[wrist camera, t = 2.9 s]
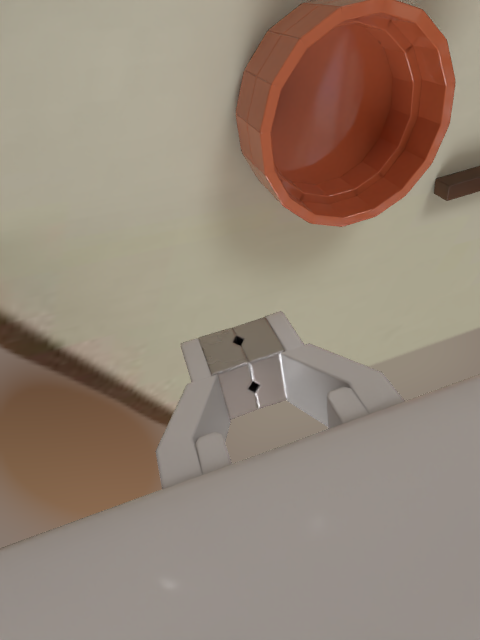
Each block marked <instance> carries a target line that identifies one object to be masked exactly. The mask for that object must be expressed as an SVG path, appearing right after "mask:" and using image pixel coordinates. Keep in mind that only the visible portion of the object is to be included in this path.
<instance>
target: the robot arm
mask: <svg viewBox="0 0 480 640" xmlns="http://www.w3.org/2000/svg"><path fill="white" fill-rule="evenodd" d="M181 349H182V352H183V355H184V359H185V362H186V365H187V369H188V372H189V375H190V379H191V382H192V383H189V384H187V385H186V387H185V389H184V391H183V394H182V396H181V398H180V400H179V402H178V404H177V406H176V409H175V411H174V413H173V415H172V417H171V419H170V421H169V424H168V426H167V428H166V430H165V433H164V434H163V436H162V439H161V441H160V443H159V445H158V447H157V449H156V456H157V462H158V467H159V473H160V478H161V484H162V490H159V491H156V492H154V493H151V494H148V495H145V496H143V497H140V498H137V499H134V500H132V501H129V502H126V503H124V504H121V505H118V506H115V507H112V508H110V509H107V510H104V511H101V512H99V513H96V514H93V515H90V516H88V517H85V518H82V519H79V520H77V521H74V522H71V523H68V524H66V525H63V526H60V527H57V528H55V529H52V530H49V531H46V532H44V533H41V534H38V535H36V536H33V537H30V538H27V539H24V540H22V541H19V542H16V543H13V544H11V545H8V546H5V547H2V548H0V640H480V374H478V375H475V376H473V377H470V378H467V379H464V380H462V381H459V382H456V383H453V384H451V385H448V386H445V387H443V388H440V389H437V390H434V391H431V392H429V393H426V394H423V395H420V396H418V397H415V398H412V399H409V400H407V401H405V400H404V399H403V398H402V396H401V395H400V394H399V393H398V391H397V390H396V389H395V388H394V387H393V385H392V384H391V383H390V381H389V380H388V379H387V378H386V377H385V375H384V374H383V373H382V372H380V371H378V370H375V369H373V368H370V367H368V366H365V365H363V364H360V363H358V362H355V361H353V360H350V359H348V358H345V357H343V356H340V355H338V354H335V353H332V352H330V351H327V350H325V349H322V348H320V347H317V346H315V345H312V344H310V343H309V344H306V345H304V343H303V342H302V340H301V339H300V337H299V336H298V334H297V333H296V331H295V330H294V328H293V327H292V325H291V323H290V322H289V320H288V319H287V317H286V316H285V314H284V313H283V312H282V311H279V312H276V313H273V314H270V315H267V316H265V317H263V318H260V319H257V320H254V321H251V322H248V323H245V324H242V325H238V326H235V327H232V328H229V329H225V330H222V331H219V332H215V333H212V334H209V335H205V336H202V337H199V338H196V339H193V340H189V341H186V342H183V343H181ZM285 400H287V401H288V402H290V403H291V404H293V405H294V406H296V407H298V408H299V409H301V410H302V411H304V412H305V413H307V414H309V415H310V416H312V417H313V418H315V419H316V420H318V421H320V422H321V423H323V424H324V425H326V426H328V429H327V430H324V431H321V432H318V433H316V434H313V435H310V436H307V437H305V438H302V439H299V440H296V441H294V442H291V443H288V444H285V445H283V446H280V447H277V448H274V449H272V450H269V451H266V452H264V453H261V454H258V455H255V456H253V457H250V458H247V459H244V460H242V461H239V462H236V463H234V464H232V462H231V459H230V456H229V453H228V450H227V448H226V445H225V441H226V437H227V434H228V430H229V426H230V420H231V419H233V418H236V417H239V416H241V415H244V414H247V413H249V412H252V411H254V410H257V409H260V408H263V407H266V406H269V405H273V404H276V403H279V402H282V401H285Z"/></svg>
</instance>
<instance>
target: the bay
mask: <svg viewBox="0 0 480 640" xmlns="http://www.w3.org/2000/svg"><path fill="white" fill-rule="evenodd" d="M478 191H480V166H478V167H475V168H471V169H468V170H464V171H461V172H458V173H454V174H451V175H447V176H444V177H441V178H437V179H436V181H435V189H434V194H436V195H438V196H439V197H441V198H443V199H445V200H446V201H448V200H452V199H455V198H458V197H462V196H465V195H468V194H472V193H475V192H478Z"/></svg>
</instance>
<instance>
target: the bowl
mask: <svg viewBox="0 0 480 640" xmlns="http://www.w3.org/2000/svg"><path fill="white" fill-rule="evenodd" d="M454 90H455V76H454V71H453V66H452V62H451V57H450V52H449V47H448V43H447V39H446V38H445V37H444V36H443V34H442V33H441V32H440V31H439V29H438V28H437V27H436V25H435V24H434V23H433V22H432V20H431V19H430V18H429V17H428V15H427V14H426V13H425V12H424V10H422V9H421V8H418V7H415V6H412V5H409V4H406V3H403V2H400V1H397V0H313V1H309V2H304V3H303V4H301V5H299V6H298V7H297V8H296V9H294V10H293V11H292V12H290V13H289V14H288V15H287V16H285V17H284V18H283V19H282V20H280V21H279V22H278V23H276V24H275V25H274V26H273V27H271V28H270V29H269V30H268V31H267V33H266V34H265V36H264V38H263V39H262V41H261V43H260V44H259V46H258V48H257V49H256V51H255V53H254V54H253V56H252V58H251V59H250V61H249V63H248V65H247V66H246V68H245V71H244V73H243V78H242V83H241V88H240V93H239V98H238V103H237V108H236V120H237V126H238V133H239V139H240V146H241V151H242V154H243V155H244V157H245V159H246V160H247V162H248V164H249V165H250V167H251V168H252V170H253V172H254V173H255V175H256V177H257V178H258V180H259V181H260V182H261V183H262V184H263V185H264V186H265V187H266V188H267V189H268V190H269V192H270V193H271V194H272V195H273V196H274V197H275V198H276V199H277V200H278V201H279V202H280V203H281V204H282V205H283V206H284V207H285V208H287V209H288V210H290V211H291V212H293V213H294V214H296V215H298V216H299V217H301V218H302V219H304V220H305V221H307V222H309V223H311V224H320V225H330V226H339V227H342V226H346V225H350V224H353V223H356V222H360V221H363V220H366V219H370V218H373V217H376V216H377V215H379V214H380V213H382V212H383V211H384V210H386V209H387V208H389V207H390V206H392V205H393V204H394V203H396V202H397V201H399V200H400V199H402V198H403V197H404V196H406V194H407V193H408V192H409V191H410V190H411V189H412V187H413V186H414V185H415V184H416V182H417V181H418V180H419V179H420V178H421V176H422V175H423V174H424V173H425V171H426V170H427V169H428V168H429V167H430V165H431V163H432V162H433V160H434V158H435V156H436V153H437V151H438V149H439V147H440V144H441V142H442V140H443V138H444V136H445V133H446V131H447V129H448V127H449V124H450V118H451V111H452V104H453V97H454Z"/></svg>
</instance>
